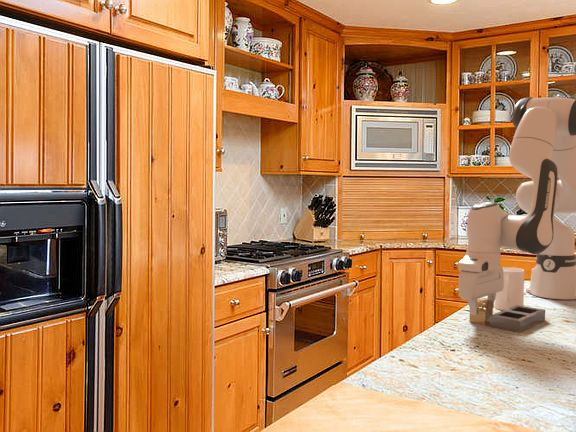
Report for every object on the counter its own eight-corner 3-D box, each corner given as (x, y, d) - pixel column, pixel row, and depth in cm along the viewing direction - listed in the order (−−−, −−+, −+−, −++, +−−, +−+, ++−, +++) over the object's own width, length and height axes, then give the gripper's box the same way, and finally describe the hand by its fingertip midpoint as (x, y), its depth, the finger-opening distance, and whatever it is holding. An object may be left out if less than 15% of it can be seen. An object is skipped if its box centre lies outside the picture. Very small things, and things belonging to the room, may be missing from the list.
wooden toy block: (477, 319, 155) (477, 298, 155) (492, 322, 152) (493, 300, 152) (469, 322, 152) (470, 300, 152) (485, 325, 149) (485, 303, 149)
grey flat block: (516, 315, 159) (516, 305, 159) (545, 320, 154) (545, 309, 153) (490, 326, 147) (490, 315, 147) (520, 332, 142) (520, 321, 141)
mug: (520, 315, 160) (521, 274, 159) (489, 311, 164) (490, 271, 163) (526, 306, 170) (527, 268, 169) (497, 303, 174) (498, 266, 173)
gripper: (488, 257, 160) (487, 303, 161) (454, 264, 146) (453, 315, 147) (510, 259, 156) (509, 307, 157) (477, 266, 141) (476, 319, 142)
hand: (481, 311), depth 152 cm, fingers open, 8 cm apart
